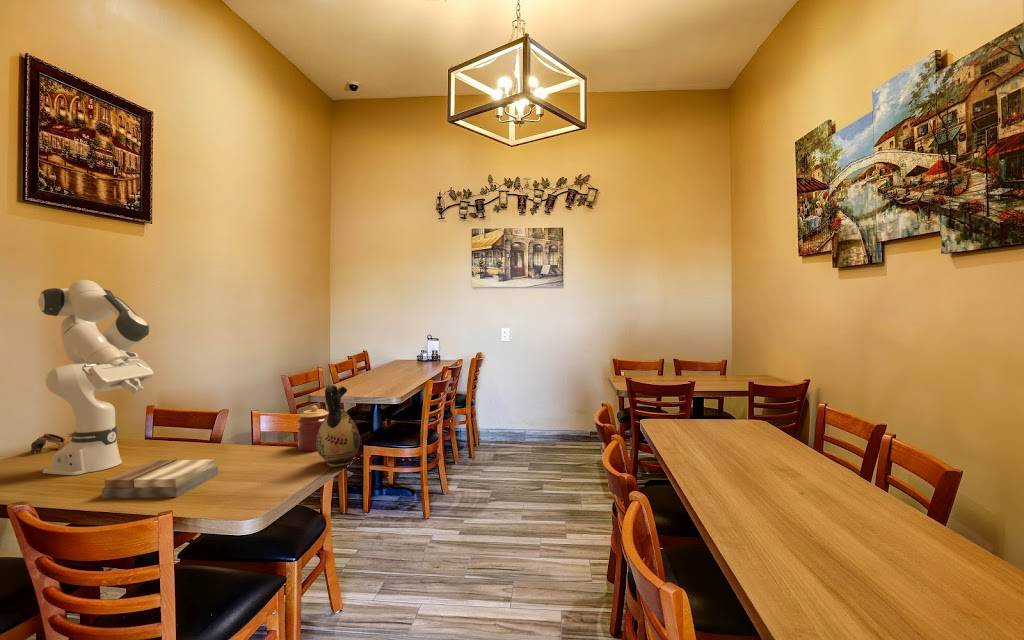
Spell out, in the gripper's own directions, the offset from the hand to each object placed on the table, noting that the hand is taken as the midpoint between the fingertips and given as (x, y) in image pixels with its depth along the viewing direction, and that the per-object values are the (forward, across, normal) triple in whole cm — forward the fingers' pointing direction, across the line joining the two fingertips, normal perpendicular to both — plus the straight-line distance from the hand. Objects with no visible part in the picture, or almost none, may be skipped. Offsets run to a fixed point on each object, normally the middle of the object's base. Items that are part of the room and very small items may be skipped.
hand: (138, 391), depth 151 cm
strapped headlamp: (-29, +41, +74) cm, 89 cm away
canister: (+50, +42, -5) cm, 66 cm away
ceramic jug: (+63, +20, -18) cm, 68 cm away
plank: (+28, 0, +12) cm, 31 cm away
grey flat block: (+27, 0, +17) cm, 32 cm away
